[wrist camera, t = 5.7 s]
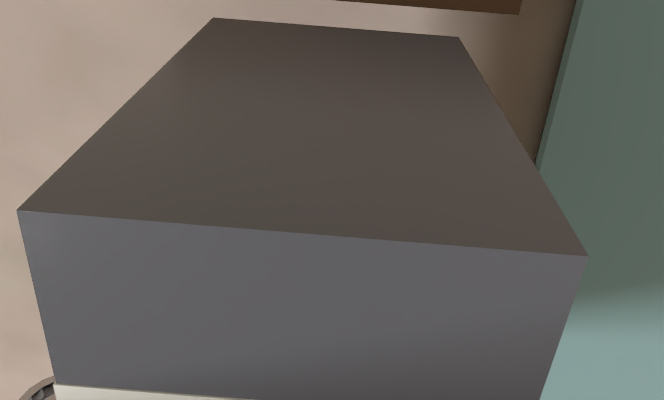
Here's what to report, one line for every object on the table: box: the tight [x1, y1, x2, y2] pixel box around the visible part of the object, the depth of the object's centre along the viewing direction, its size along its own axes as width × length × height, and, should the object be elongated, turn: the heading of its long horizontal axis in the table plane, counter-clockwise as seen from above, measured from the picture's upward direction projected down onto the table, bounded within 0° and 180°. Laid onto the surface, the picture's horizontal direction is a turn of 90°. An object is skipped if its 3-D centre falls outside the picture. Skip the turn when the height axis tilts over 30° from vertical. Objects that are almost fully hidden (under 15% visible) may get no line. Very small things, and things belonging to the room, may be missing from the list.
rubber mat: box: [535, 0, 664, 400], centre depth 18 cm, size 16×7×1 cm, turn 176°
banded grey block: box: [16, 18, 589, 400], centre depth 10 cm, size 11×4×7 cm, turn 176°
